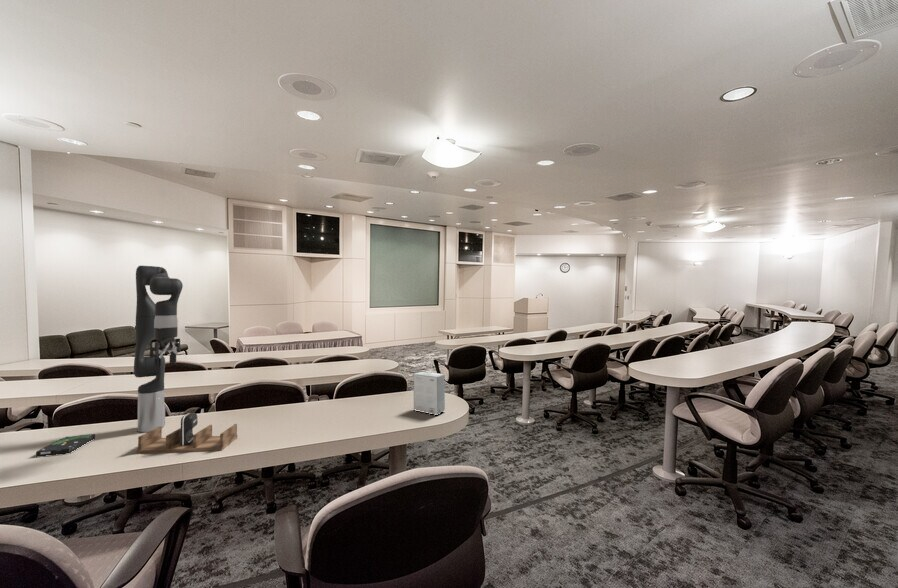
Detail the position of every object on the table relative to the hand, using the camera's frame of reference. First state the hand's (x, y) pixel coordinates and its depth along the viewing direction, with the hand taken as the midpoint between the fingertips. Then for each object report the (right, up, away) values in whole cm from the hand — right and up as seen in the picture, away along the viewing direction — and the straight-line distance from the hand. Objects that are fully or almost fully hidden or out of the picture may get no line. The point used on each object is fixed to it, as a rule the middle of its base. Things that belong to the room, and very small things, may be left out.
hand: (165, 365), depth 144 cm
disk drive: (-36, -33, -4) cm, 49 cm away
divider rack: (+12, -32, -2) cm, 34 cm away
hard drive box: (+107, -33, +40) cm, 118 cm away
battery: (+12, -31, -2) cm, 33 cm away
